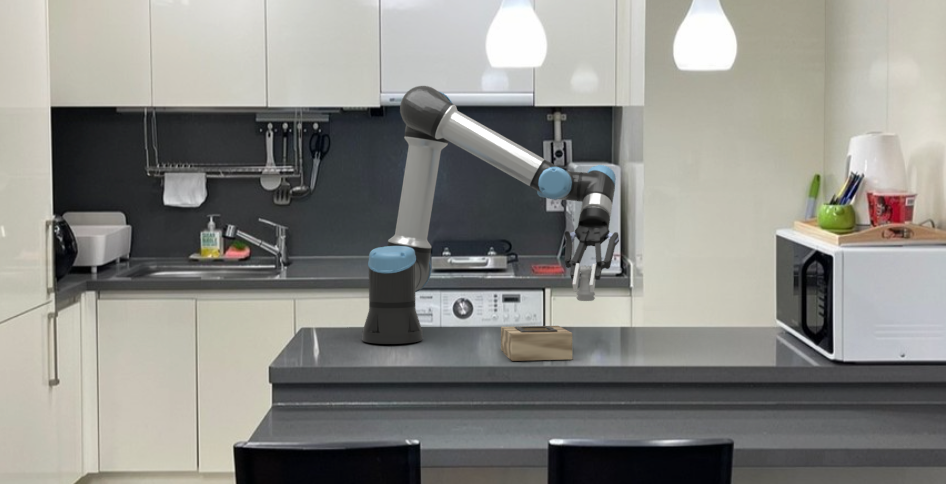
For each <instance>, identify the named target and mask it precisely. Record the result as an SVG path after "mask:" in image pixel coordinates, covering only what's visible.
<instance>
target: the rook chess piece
mask: <svg viewBox="0 0 946 484" xmlns="http://www.w3.org/2000/svg"><path fill="white" fill-rule="evenodd" d="M579 271H580V277H579V278H580V283H579V288H578V290H577V292H576V295H577V296H576V299H577V301H580V302H592V301H595V299H596V297H595V295H596V293H595V291H594V292H590V285H589V284H590V278H591V272H592V265H580V269H579Z"/></svg>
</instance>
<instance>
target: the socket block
mask: <svg viewBox="0 0 946 484" xmlns="http://www.w3.org/2000/svg"><path fill="white" fill-rule="evenodd" d="M500 351H501V352H502V351H503V352H502V353H503V354H504V355H505V356H506V357H507V358H508V359H509V360H511V362H517V361H521V362H522V361H551V360H552V361H554V360H555V361H559V360H573V332H571V331H569V330H567V329H565V328H564V327H561V326H559V325H534V326H532V325H531V326H529V325H527V326H523V325H522V326H519V325H517V326H500Z"/></svg>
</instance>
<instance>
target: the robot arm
mask: <svg viewBox="0 0 946 484" xmlns="http://www.w3.org/2000/svg"><path fill="white" fill-rule="evenodd" d="M399 108H400V109H399V113H400V116H401V118H402V121H403V122H404V124H405V129H404V137H403V138H404V140H405V141H406V142H407V144H408V149H407V155H406V161H405V168H404V174H403V180H402V181H403V182H402V188H401V194H400V200H399V205H398V206H399V207H398V213H397V220H396V226H395V232H394V233H395V234H394V235H392V237H391V238H389V239H388V240H387V246H382V247H381V246H379V247H376V248H373V249H372V250H371V251H369V254H368V261H367V263H368V264H367V266H368V313H367V316H366V319H365V323H364V326H363V329H362V332H361V333H362V335H361V339H362V340H361V341H362V342H365V343H369V344H370V343H371V344H381V345H390V344H391V345H397V344H399V345H401V344H411V343H416V342H417V343H418V342H421V341H423V340H424V339H423V337H424V336H423V334H424V333H423V329H422V325H421V323H420V319H419V315H418V314H417V309H416V293H417V292H419V291H421V290H422V289H423V288H424V287H425V286H426V285H427V284H428V282H429V280H430V279H431V275H432V263H431V261H430V259H431V255H432V254H431V253H432V245H431V243H430V242H429V241H428V236H429V230H430V223H431V216H432V209H433V203H434V199H435V190H436V184H437V179H438V173H439V172H438V171H439V166H440V158H441V152H442V151H443V149H444V148H446V147H447V146H448V144H449V142H450V143H452V144H453V145H455V146H456V147H459V148H461V150H464V151H466V152H468V153H469V154H472V155H473V156H475V157H477V158H478V159H480V160H481V161H484V162H486V163H487V164H488V165H491V166H493V167H495V168H496V169H498V170H500V171H501V172H503V173H504V174H505V173H506V174H507V175H509V176H510V177H513V178H514V179H517V181H520V182H522V183H523V184H525V185H527V186H529V187H531V188H532V189H533V190H536V191H537V195H538V197H540V198H545V199H549V200H563V201H573V202H579V203H580V202H582V203H581V207H580V212H579V218H578V222H577V223H578V224H577V227H576V228H575V230H574V231H571V232H570V231H568V230H566V231H564V232H563V233H564V238H565V251H564V262H565V263H564V264H565V265H564V266H565V268H568V269H569V268H570V270H569V275H570V279H573V280H572V291H573V293H577V292H578V289H579V288H578V287H579V281H580V278H581V277H580V276H581V272H580V271H579V269H580V268H581V265H580V264H581V261H582V258H583V257H584V253H585V252H586V250H587V249H588V247H591V246H592V247H594V249H595V263H592V265H591V268H592V272H591V278H590V284H589V285H590V292H594V293H595V287H596V281H597V280H598V281H600V280H601V277H602V271H603V270H604V269H605V270H609V269H610V268H611V265H612V261H613V257H614V253H615V248H616V245H617V244H619V241H620V236H619V232H617V231H616V232H614V233H613V232H610V221H611V216H612V215H611V214H612V209H613V208H612V207H613V201H614V195H615V191H616V180H617V179H616V177H617V176H616V174H615V172H614V170H613V169H612V168H611V167H609V166H607V165H604V164H603V165H602V164H597V165H594V166H591V167H590V168H589V169H588V171H587V172H584V171H583V172H581V171H580V172H578V171H572V170H566V169H564V168H562V167H559V166H557V165H556V164H554V163H552V162H550V161H548V160H546V159H545V158H543V157H541V156H539V155H538V154H536V153H534V152H533V151H530V150H528V149H527V148H526V147H524V146H522V145H520V144H518V143H516V142H514V141H513V140H511V139H509V138H507V137H505V136H504V135H501V134H500V133H498V132H497V131H495V130H492V129H491V128H490V127H487V126H485V125H483V124H482V123H480V122H478V121H476V120H475V119H473V118H471V117H469V116H468V115H466V114H464V113H463V112H460V111H458V109H457V105H456V104H454V103H453V101H452V99H450V97H449V96H447V95H446V94H445V93H443V92H442V91H439V90H437V89H435V88H433V87H432V86H428V85H418V86H415V87H412V88H410V89H409V90H408V91H407V92H406V93H405V94H404V96H402V99H401V102H400V106H399ZM575 239H577V240H578V241H579V243H578V245H577V248H576V250H575V252H574V255H573V243H574V241H575ZM607 239H608V243H607V247H606V251H605V256H604V259H602V244H603V243H604V242H605V241H606V240H607ZM572 255H573V258H572Z"/></svg>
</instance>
